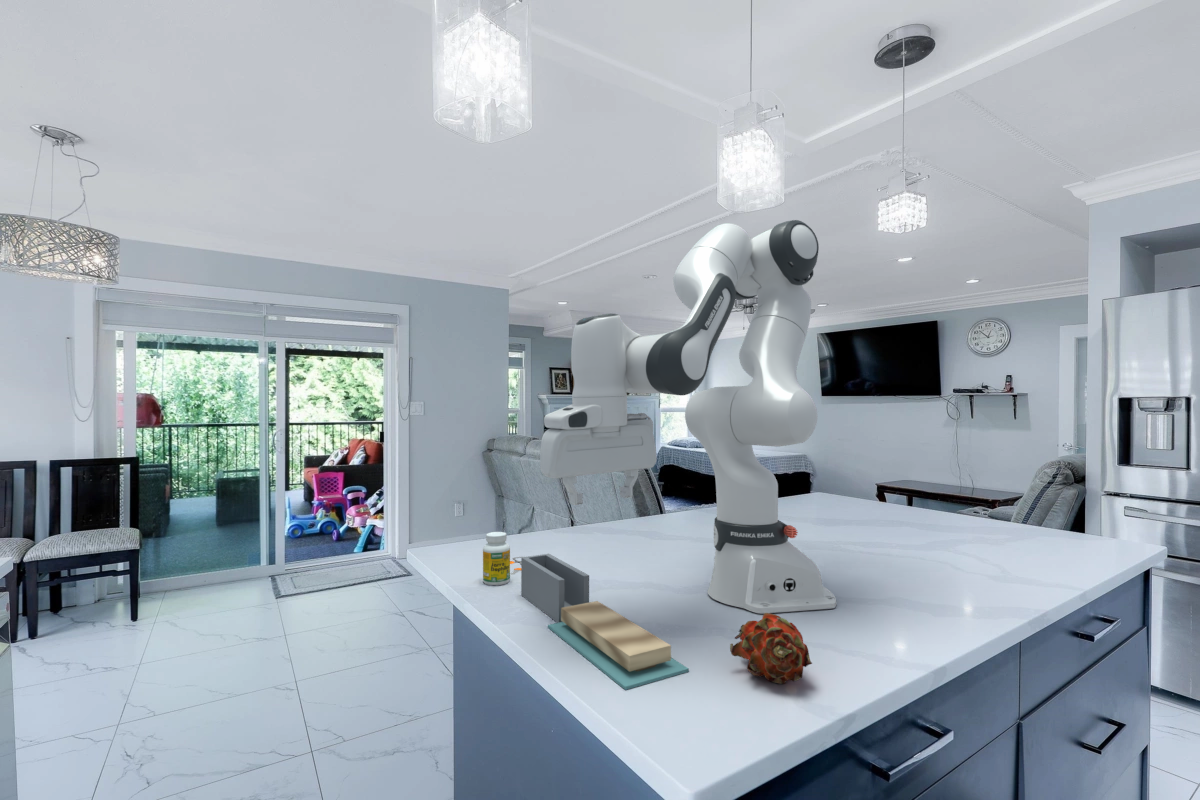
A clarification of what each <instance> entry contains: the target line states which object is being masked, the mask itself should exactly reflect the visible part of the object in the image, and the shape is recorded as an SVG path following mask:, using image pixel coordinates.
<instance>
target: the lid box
mask: <svg viewBox="0 0 1200 800" xmlns="http://www.w3.org/2000/svg"><path fill="white" fill-rule="evenodd" d="M520 557H521V558H520V561H521V564H520V565H521V567H520V568H521V571H520V572H521V577H520V579H521V583H520V585H521V587H520V590H521V591H520V596H522V597H523V598H524V599H526V600H527V601H528V602H529V603H530V604H532V605H534V607H536V608H538V609H539V610H540V611H542V612H543V614H546V615H547V616H548V617H549V618H550V619H552V620H553V621H554V622H555V623H559V622H562V621H561V608H563V607H568V606H574V605H579V604H584V603H589V602H590V575H589V574H588V573H586V572H583V570H580V569H578V568H577V567H575V566H573V565H572V564H569V563H567V562H565V561H563V560H562V559H559V558H557V556H554V555H552V554H550V553H544V554H543V553H542V554H536V555H531V556H520Z"/></svg>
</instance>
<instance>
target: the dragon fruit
mask: <svg viewBox="0 0 1200 800" xmlns="http://www.w3.org/2000/svg"><path fill="white" fill-rule="evenodd" d="M738 632H739V633H738V634H737V635H736V636H734V639H735V640H737V639H740V641H738V642H736V643H735V644H734V643H729V650H730V651H729V652H730V654H731V655H732V656H733V657H739V658H742V659H745V660H748V663H747V667H746V668H747V671H748V672H749V673H750V674H751V675H753V677H756V678H757V677H763V676H764V677H765V679H767V681H770V682H772V683H775V684H776V683H777V684H781V685H782V684H783V685H784V684H786V683H787V681H791V682H797V681H799V680H800V679H802V678H803V672H804V668H807V666H809V665H811V664H813V662H812V661H811V658H810V653H809V648H808V645H807V644H806V643H805V642H804V638H803V635H802V633H801V631H799V629H798V628H797V626H796V625H795V624H794V623H793V622H792V621H791V622H789V621H788V620H787V619H786V618H783V617H781V616H779V615H777V614H773V613H763V615H762V618H761V619H760V620H759V621H757V620H748V621H747V622H746V623H744V624H742V625H741V626H740V628H739V631H738Z"/></svg>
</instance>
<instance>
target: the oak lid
mask: <svg viewBox="0 0 1200 800" xmlns="http://www.w3.org/2000/svg"><path fill="white" fill-rule="evenodd" d="M561 621H562V622H564V623H565V624H566V625H568V626H569V627H570V628H572V629H573V630H574V631H576V632H577V633H578V634H580V635H581V636H582V637H584V638H585V639H586V640H588V641H589V642H590V643H592V644H593V645H595V646H596V647H597V648H599V649H600V650H601V651H603V652H604V653H605V654H607V655H608V656H609V657H611V658H612V659H613V660H615V661H616V662H617V663H619V664H620V665H621V666H623V667H624V668H625V669H627V670H628V671H629V672H630V671H634V670H635V671H641V670H644V669H648V668H652V667H655V666H656V664H659V663H663V662H667V661H670V660H671V658H672V645H671V644H669V643H668V642H667V641H665V640H663V639H662V638H659V637H658V636H656V635H655V634H653V633H651V632H650V631H648V630H646V629H645V628H643V627H641V626H640V625H638V624H636V623H634V622H633V621H631V620H630V619H628V618H626V617H625V616H623V615H621V614H620V613H618V612H616V611H614V610H613V609H611V608H610V607H608V606H606V605H605V604H603V603H601V602H600V601H598V600H595V601H589V603H584V604H579V605H574V606H568V607H563V608H561Z"/></svg>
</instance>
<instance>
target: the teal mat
mask: <svg viewBox="0 0 1200 800" xmlns="http://www.w3.org/2000/svg"><path fill="white" fill-rule="evenodd" d="M547 629H549V630H550V631H551V632H553V633H554V634H555V635H557V636H558V637H559V638H560V639H562V640H563V642H564V643H566V644H567V645H569V646H570V647H571V648H572V649H573V650H575V651H577V652H578V654H580V655H581V656H582V657H584V658H585V659H586V660H587V661H588V662H589V663H591V664H592V665H594V667H596V668H597V669H598V670H599V671H601V672H602V673H603V674H605V676H607V677H608V678H610V679H611V680H612V681H614V683H616V684H617V685H618V686H619V687H621V688H622V689H623V690H625V691H627V690H631V689H634V688H636V687H637V688H638V687H640V686H644V685H647V684H650V683H655V682H658V681H662V680H666V679H668V678H671V677H672V678H673V677H675V676H678V675H679V676H680V675H681V674H686V673H688V672H690V670H689V669H690V668H688V667H687V666H685V665H684V664H682V663H681V662H679V661H678V660H677V659H674V658H672V657H671V660H670V661H667V662H663V663H659V664H656V666H655V667H652V668H648V669H644V670H641V671H635V670H634V671H630V672H629V671H628V670H627V669H625V668H624V667H623V666H621V665H620V664H619V663H617V662H616V661H615V660H613V659H612V658H611V657H609V656H608V655H607V654H605V653H604V652H603V651H601V650H600V649H599V648H597V647H596V646H595V645H593V644H592V643H590V642H589V641H588V640H586V639H585V638H584V637H582V636H581V635H580V634H578V633H577V632H576V631H574V630H573V629H572V628H570V627H569V626H568V625H566V624H565V623H564V622H559V623H557V622H555V623H550V624H547Z"/></svg>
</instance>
